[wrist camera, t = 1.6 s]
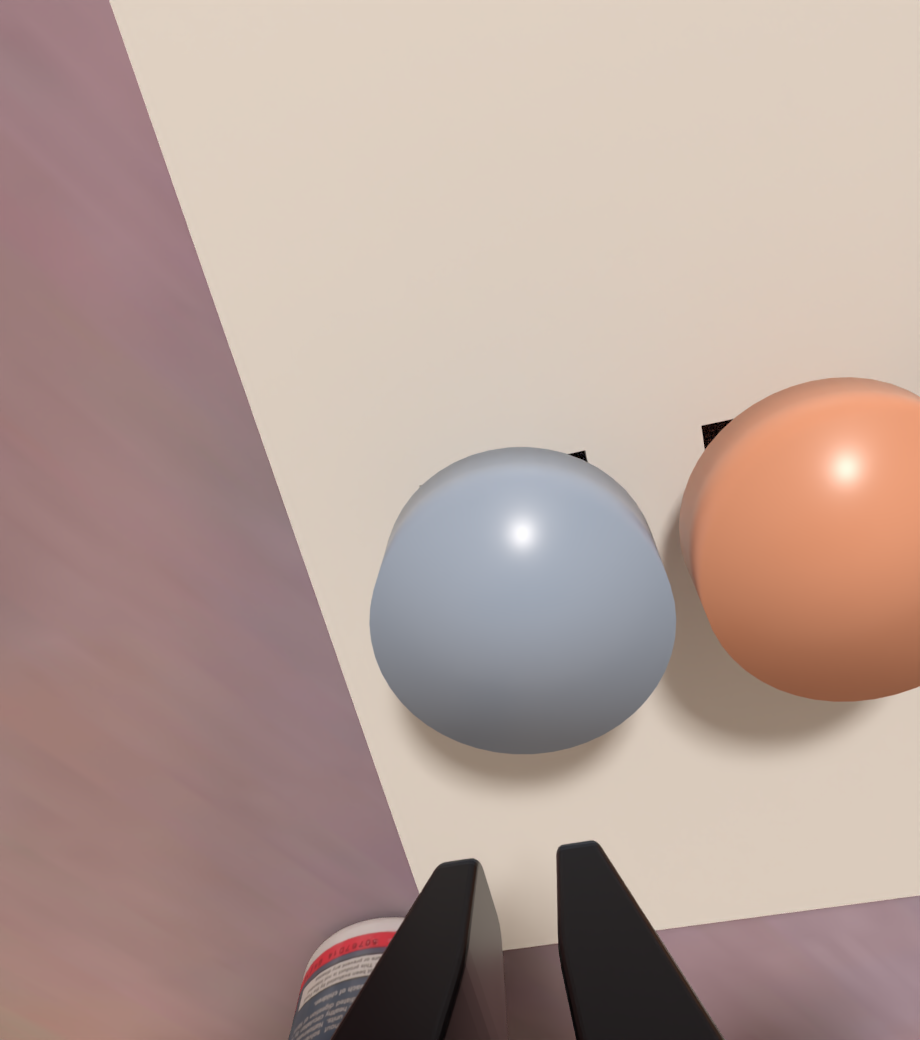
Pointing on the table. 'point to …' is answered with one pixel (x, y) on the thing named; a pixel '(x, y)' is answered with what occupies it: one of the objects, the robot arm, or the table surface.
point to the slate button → (522, 603)
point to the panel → (565, 366)
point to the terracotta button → (813, 539)
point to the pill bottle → (339, 976)
